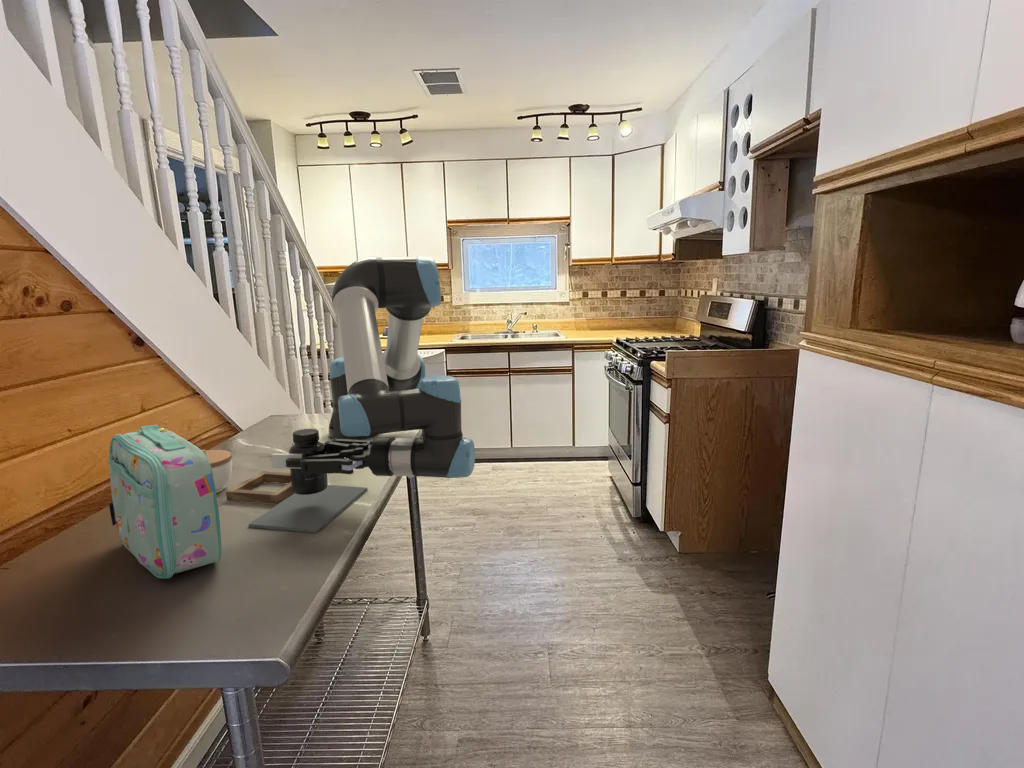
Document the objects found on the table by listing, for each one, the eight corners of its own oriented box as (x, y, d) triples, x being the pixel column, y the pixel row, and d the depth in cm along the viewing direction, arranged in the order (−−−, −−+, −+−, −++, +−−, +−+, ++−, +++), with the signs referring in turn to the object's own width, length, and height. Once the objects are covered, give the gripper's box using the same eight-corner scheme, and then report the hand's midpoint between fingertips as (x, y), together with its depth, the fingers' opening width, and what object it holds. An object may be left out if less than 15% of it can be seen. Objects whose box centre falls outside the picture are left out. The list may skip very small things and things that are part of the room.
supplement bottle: (316, 496, 103) (310, 437, 101) (285, 494, 104) (278, 435, 102) (335, 483, 110) (330, 427, 107) (305, 481, 111) (299, 426, 109)
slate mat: (309, 486, 119) (309, 483, 119) (367, 490, 116) (367, 487, 116) (248, 526, 100) (248, 523, 100) (316, 533, 97) (315, 529, 97)
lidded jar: (173, 491, 117) (167, 451, 116) (225, 478, 125) (220, 439, 123) (189, 505, 110) (183, 462, 108) (243, 489, 118) (238, 449, 116)
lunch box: (110, 541, 95) (89, 426, 91) (174, 520, 103) (157, 413, 99) (162, 596, 79) (139, 457, 74) (234, 566, 86) (217, 439, 82)
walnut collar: (264, 479, 124) (263, 471, 123) (310, 482, 121) (309, 474, 121) (226, 500, 112) (225, 491, 112) (277, 504, 110) (276, 495, 109)
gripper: (377, 494, 95) (256, 491, 97) (411, 458, 114) (309, 456, 117) (374, 454, 93) (251, 452, 96) (409, 424, 112) (306, 423, 115)
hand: (283, 454), depth 106 cm, fingers closed on supplement bottle, 7 cm apart
